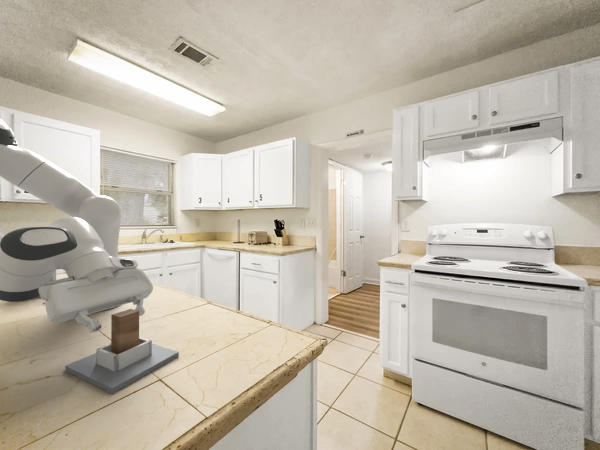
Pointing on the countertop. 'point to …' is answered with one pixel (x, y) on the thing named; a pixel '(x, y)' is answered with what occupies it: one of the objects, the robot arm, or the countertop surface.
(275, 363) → the countertop surface
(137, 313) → the block
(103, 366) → the grey socket base
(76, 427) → the countertop surface
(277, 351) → the countertop surface
